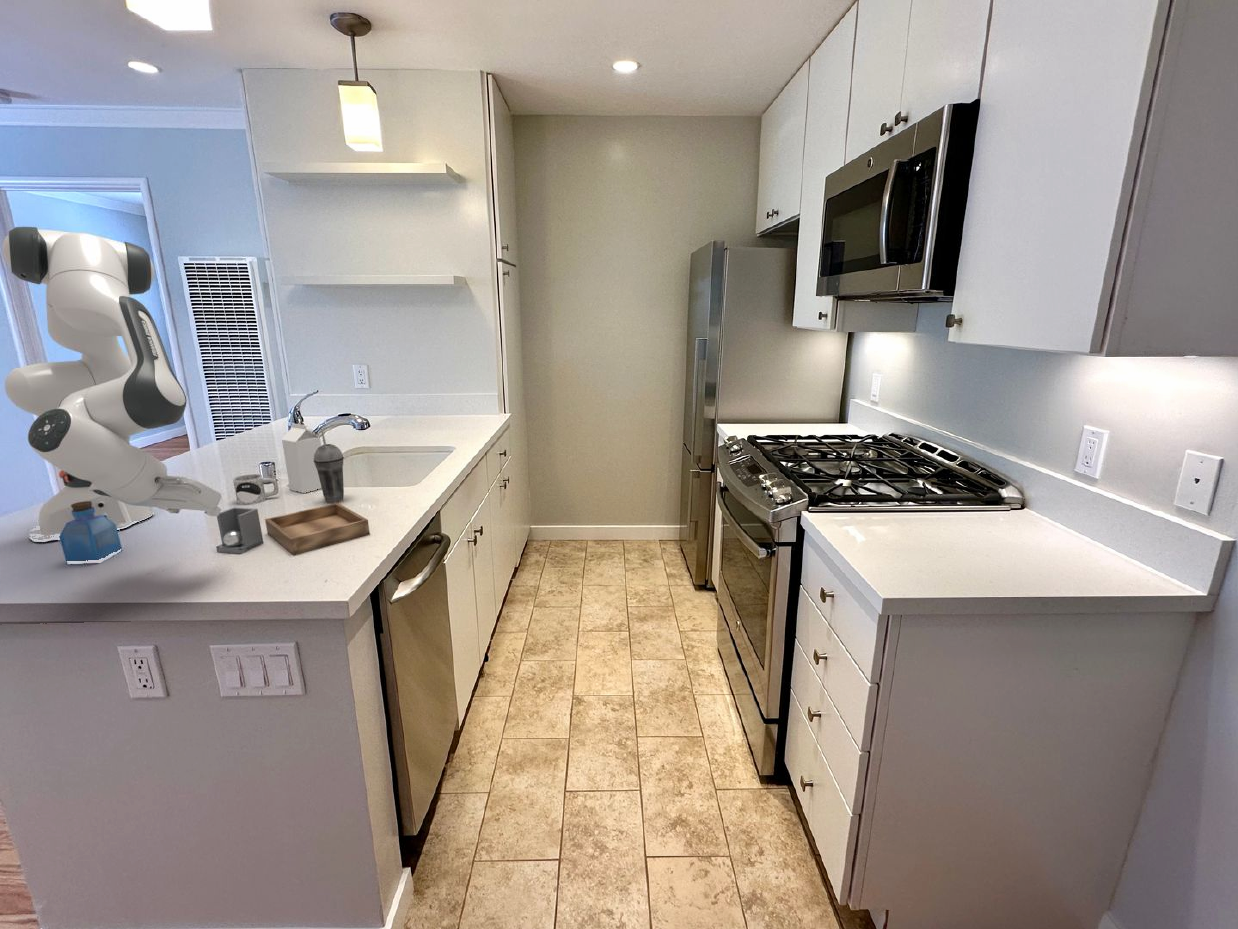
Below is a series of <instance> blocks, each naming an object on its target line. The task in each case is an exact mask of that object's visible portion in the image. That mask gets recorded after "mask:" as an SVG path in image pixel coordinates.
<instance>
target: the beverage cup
mask: <svg viewBox="0 0 1238 929" xmlns="http://www.w3.org/2000/svg"><path fill="white" fill-rule="evenodd" d="M320 432H321V437H322V442H323V444H321V446H320V447H319V448H318V449H317V450H316V452H315V454H314V461H313V462H314V463H315V466H316V469H317V471H318V475H319V479H320V483H321V487H322V489H321V492H322V495H323V498H324V501H326V502H327V504H335V502H337V503H340V502H339V501H341V500H343V498H344V494H345V490H344V488H345V487H344V460H345V457H344V455H343V453H342V450H341V449H340V448H339V447H338V446H336V445H334V444H332V443H331V444H330V443H327V442H326V438H325V434H324V428H320ZM344 499H345V498H344ZM343 501H344V500H343ZM326 502H325V503H326ZM341 502H342V501H341Z"/></svg>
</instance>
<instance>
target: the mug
mask: <svg viewBox="0 0 1238 929" xmlns="http://www.w3.org/2000/svg"><path fill="white" fill-rule="evenodd" d="M232 481H233V488H234V493H235V498H236V502H237V503H238V505H239V504H241V505H240V506H248V505H255V504H260V503H262V502H265V501H266V500H267V498H270V497H272V496H277V495H278V494H279V484H278V481H277V479H276V478H273V477H272V478H271V477H263V474H260V473H259V474H258V473H257V474H256V473H255V474H252V473H251V474H245V475H243V474H242V475H239V476H236V477H233V479H232ZM265 483H272V486H273V491H271V492H270V491H269V492H268V491H267V492H266V491H265V485H264V484H265Z"/></svg>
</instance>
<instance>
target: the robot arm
mask: <svg viewBox="0 0 1238 929" xmlns="http://www.w3.org/2000/svg"><path fill="white" fill-rule="evenodd" d="M2 256H3V259H4V262H5V263H6V265H7V266H8V268H9V269H10V270H11V273H12V274H13V275H14V276H16V278H18V279H19V280H22V281H25V282H28V283H32V284H36V285H41V284H43V285H46V286H45V301H46V302H45V303H46V321H47V322H46V324H47V332H48V334H49V337H50V338H51V339H52V340H53V341H54V342H55V343H56V344H58V345H59V346H61V347H63V348H66V349H68V350H70V351H74V352H77V353H79V354H81V359H79V360H71V361H69V360H68V361H66V360H65V361H51V362H39V363H33V364H28V365H23V366H20V367H16V368H13V369H11V371H10V372H9V373H8V374H7V375H6V377H5V381H4V389H5V393H6V396H7V397H8V399H9V400H10V401H11V402H12V404H14V405H15V406H16V407H18V408H19V409H21V410H23V411H24V412H26V413H30V414H32V415H34V416H37V418H36V419H35V420H34V421H33V422H32V424H31V426H30V428H29V430H28V434H27V441H28V444H29V446H30V447H31V449H32V450H33V451H34V452H35V453H36V454H38V456H40V457H41V458H42V459H44V460H45V461H47V463H49V464H51V465H53V467H56V468H57V469H59V470H60V471H59V472H58V476H59V478H60V479H62V481H63V485H64V486H65V487H63V488H62V489H61V490H60V491H59V492H57V493H56V494H54V495H53V496H52V497H51V498H49V500H47V501H46V502H45V503H43V505H42V506H41V507H40V510H39V513H38V525H39V526H40V530H34V531H30V530H29V531H30V532H28V535H29V534H41V535H44V536H42V537H39V538H33V537H35V536H36V535H35V536H32V538H33V539H38V540H43V539H49V538H51V537H52V536H51V537H50V535H55V534H61V532H62V531H63V529H64V527H65V525H66V523H67V522H70V521H72V520H75V517H74V516H72V512H71V511H72V510H73V508H72V507H71V505H72V504H74V503H78V502H84V501H91V502H92V507H94V509H95V513H94V516H100V515H104V516H105V517H106V518H108V519H109V520H110V521H112V522H113V523H114V524H116V527H117V528H122V527H125V526H127V525H129V524H130V523H132V522H134V521H140V520H142V519H145V518H147V517H149V516H151V515H153V512H154V511H153V509H152V507H153V508H158V509H159V510H164V511H166V512H168V513H169V514H179V513H180V511H181V510H187V511H188V510H190V511H204V514H205V515H207V516H208V517H209V516H210V517H215V518H217V516H218V515H219V513H220V512H222V509H221V507H219V506H218V505H219V503H220V501H221V499H222V494H221V492H219V491H218V490H216V489H214V488H213V487H211V486H209V485H207V484H205V483H203V482H201V481H199V480H197V479H195V478H191V477H189V476H179V475H178V476H177V475H168V468H167V465H166V464H165V463H164V462H163V461H161V460H160V459H158V458H156V457H155V456H153V455H152V454H149V453H148V452H147V451H146V450H143V449H142V448H140V447H138V446H135V445H132V444H131V443H130V438H131V436H135V435H137V434H139V433H142V432H143V433H144V432H146V431H149V430H151V429H152V430H153V429H158V428H161V427H167V426H170V425H173V424H176V423H178V422H179V421H180V420H181V418H182V417H183V415H184V413H185V411H186V409H187V408H186V407H187V402H188V400H187V395H186V392H185V391H184V388H183V387H182V385H181V383H180V381H179V379H178V378H177V376H176V375H175V373H174V371H173V369H172V368H173V367H172V365H171V362H170V360H169V357H168V354H167V352H166V349H165V346H164V343H163V341H162V337H161V334H160V333H159V330H158V327H157V325H156V323H155V320H154V319H153V317H152V316H153V315H152V314H151V313H150V312H149V310H148V309H147V307H145V305H144V304H143V303H142V302H140V301H139V300H137V299H136V298H134V297H131V295H132V296H133V295H142V294H145V293H146V292H147V291H150V289H151V286H152V285H153V283H154V279H155V276H156V275H155V274H156V272H155V266H154V263H153V261H152V258H151V257H150V254H149V252H148V251H147V250H146V249H145V248H144V247H143V246H139V245H136V244H134V243H132V242H127V241H124V242H123V241H122V242H121V241H118V240H115V239H111V238H107V237H103V236H98V235H94V234H91V233H86V232H71V231H62V230H54V229H53V230H52V229H42V228H41V229H39V228H37V227H36V226H15V227H14V228H11V229H10V230H9V231H8V234H7V235H6V236H5V238H4V240H3V243H2ZM118 337H122V340H123V344H124V346H125V349H126V352H127V354H126V353H125V351H124V350H123V349H122V347H121V345H120V343H119V340H118ZM153 516H154V515H153ZM34 527H35V528H36V526H34ZM47 536H48V537H47ZM30 537H31V536H30ZM43 537H44V538H43ZM53 537H54V536H53Z"/></svg>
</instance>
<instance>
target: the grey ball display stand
mask: <svg viewBox="0 0 1238 929" xmlns="http://www.w3.org/2000/svg"><path fill="white" fill-rule="evenodd" d="M216 519H217V524H218V525H217V526H218V529H219V530H218V531H219V535H220V539H221V544H218V545H217V546H215V548H216V551H217V553H224V552H230V553H229V554H235V553H237V555H241V554H240V553H242V554H244V553H247V552H248V551H250V549H251V550H253V549H255V548H257V547H259V546H261V545H264V538H263V532H262V526H261V521H260V515H259V510H258V508H250V507H248V508H247V507H236V506H235V507H231V508H229V509H226V510H222V511H220V513H219V515H218V516H217V517H216ZM229 531H238V532H240V533H241V536H242V543H241V544H240V545H239V546H236V547H229V546H227V545H226V544H225V543H224V540H223V539H224V536H225V534H226V533H228V532H229ZM256 546H257V547H256ZM254 547H255V548H254ZM252 548H253V549H252ZM243 552H244V553H243ZM238 553H239V554H238Z"/></svg>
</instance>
